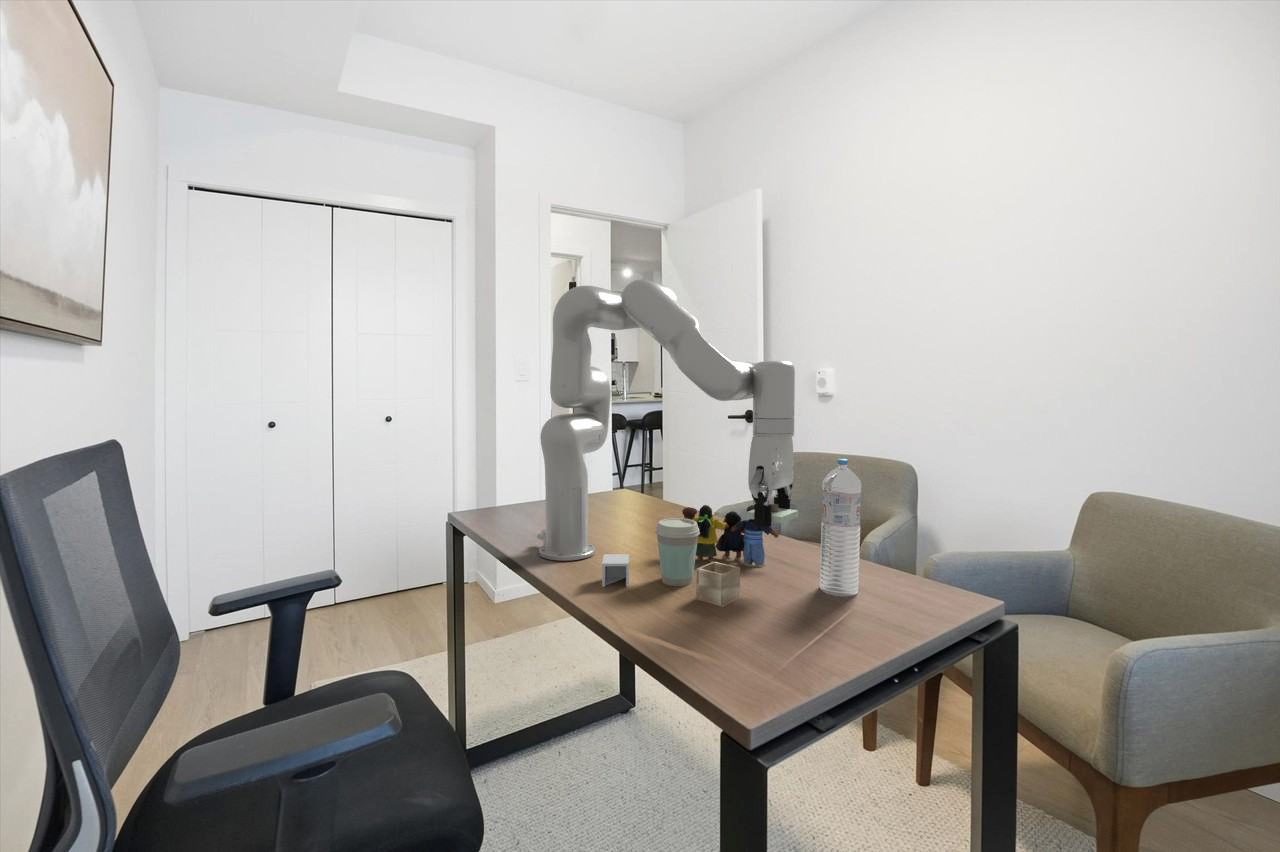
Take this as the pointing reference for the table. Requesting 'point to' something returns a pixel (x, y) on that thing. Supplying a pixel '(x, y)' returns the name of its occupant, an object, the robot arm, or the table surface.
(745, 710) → the table surface
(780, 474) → the robot arm
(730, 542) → the doll family
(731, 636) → the table surface
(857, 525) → the water bottle
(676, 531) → the coffee cup
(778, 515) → the lid
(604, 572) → the white cuboid
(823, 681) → the table surface
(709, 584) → the box
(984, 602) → the table surface
